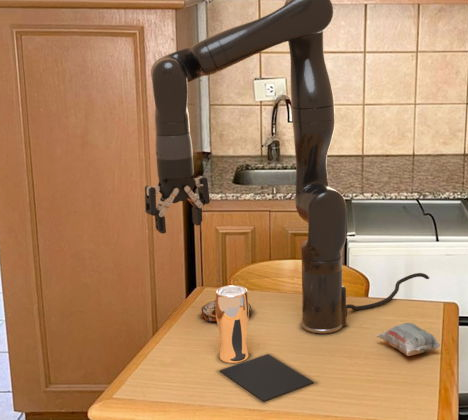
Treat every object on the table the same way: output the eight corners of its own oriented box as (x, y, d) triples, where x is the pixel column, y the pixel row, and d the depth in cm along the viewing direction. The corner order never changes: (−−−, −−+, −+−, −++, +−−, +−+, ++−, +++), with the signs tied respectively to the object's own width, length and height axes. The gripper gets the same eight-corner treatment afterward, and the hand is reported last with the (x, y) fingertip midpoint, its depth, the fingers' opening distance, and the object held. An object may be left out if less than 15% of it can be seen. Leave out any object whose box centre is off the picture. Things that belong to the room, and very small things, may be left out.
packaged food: (407, 364, 168) (408, 342, 166) (375, 343, 178) (376, 322, 176) (441, 355, 172) (442, 334, 170) (408, 335, 182) (408, 315, 180)
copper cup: (245, 365, 168) (242, 298, 164) (213, 362, 170) (210, 295, 166) (254, 350, 175) (252, 285, 171) (223, 348, 176) (220, 283, 172)
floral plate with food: (254, 305, 200) (253, 276, 198) (248, 324, 188) (247, 294, 186) (205, 305, 200) (204, 276, 198) (197, 324, 189) (195, 294, 187)
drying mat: (219, 371, 166) (219, 370, 166) (268, 355, 173) (268, 354, 173) (263, 402, 154) (263, 400, 153) (313, 383, 160) (313, 381, 160)
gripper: (152, 162, 162) (158, 239, 166) (213, 151, 170) (217, 225, 175) (135, 156, 167) (141, 231, 172) (194, 146, 176) (199, 218, 180)
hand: (179, 228), depth 173 cm, fingers open, 8 cm apart
